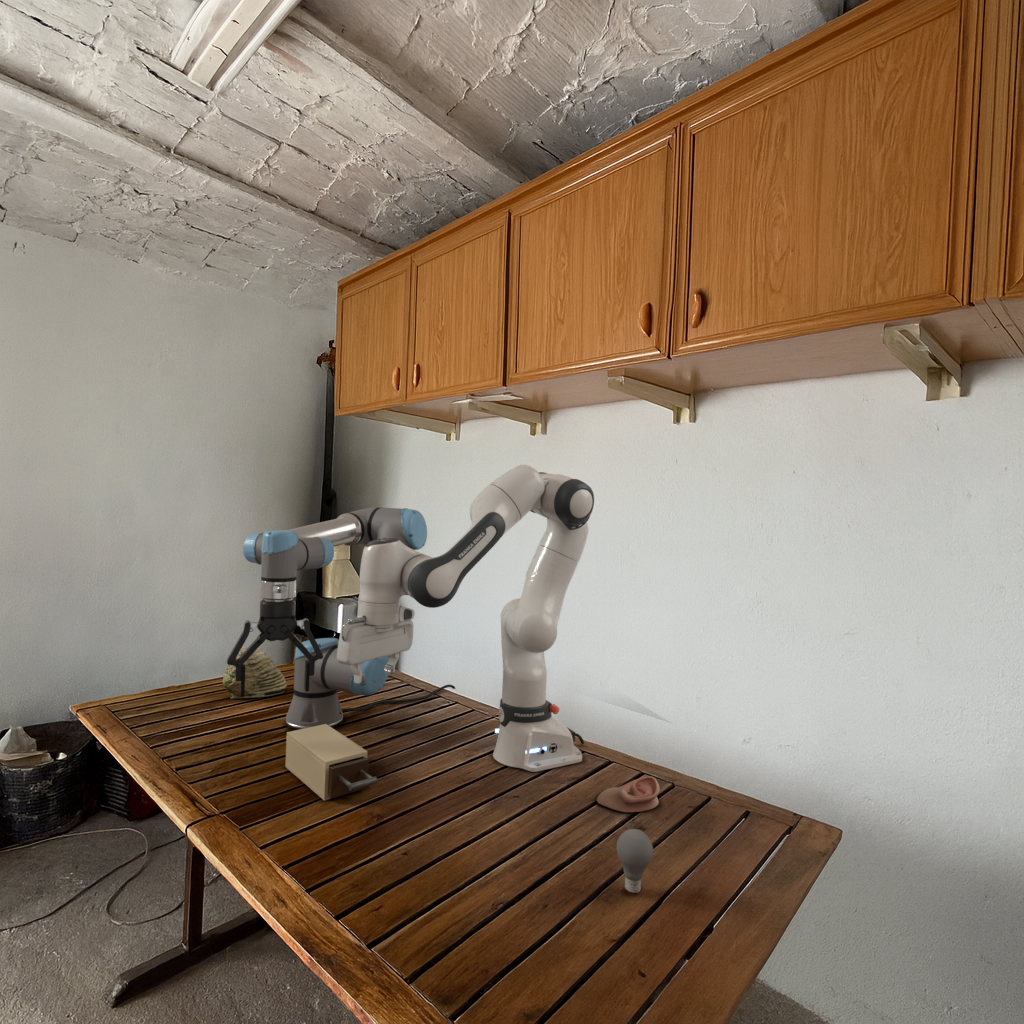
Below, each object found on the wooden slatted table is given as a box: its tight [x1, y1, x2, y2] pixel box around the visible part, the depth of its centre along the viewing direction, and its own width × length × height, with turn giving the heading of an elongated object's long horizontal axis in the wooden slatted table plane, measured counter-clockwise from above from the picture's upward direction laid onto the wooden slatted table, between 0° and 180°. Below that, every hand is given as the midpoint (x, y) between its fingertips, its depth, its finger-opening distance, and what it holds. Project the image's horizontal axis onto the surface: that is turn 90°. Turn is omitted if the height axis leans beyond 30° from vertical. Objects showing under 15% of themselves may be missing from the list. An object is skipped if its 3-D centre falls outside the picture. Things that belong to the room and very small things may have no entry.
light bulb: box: [615, 828, 654, 894], centre depth 106 cm, size 6×6×10 cm
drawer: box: [328, 756, 378, 800], centre depth 139 cm, size 26×9×6 cm, turn 42°
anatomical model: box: [596, 775, 661, 813], centre depth 138 cm, size 13×4×12 cm
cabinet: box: [285, 724, 369, 801], centre depth 143 cm, size 21×10×8 cm, turn 42°
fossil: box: [222, 646, 288, 699], centre depth 198 cm, size 9×18×15 cm, turn 132°
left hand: (275, 692), depth 143 cm, fingers open, 13 cm apart
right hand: (374, 677), depth 136 cm, fingers open, 8 cm apart
